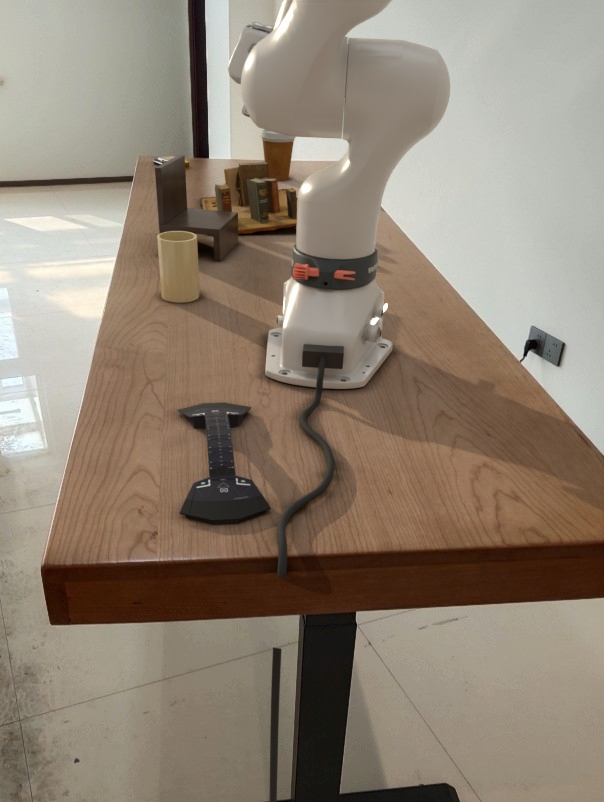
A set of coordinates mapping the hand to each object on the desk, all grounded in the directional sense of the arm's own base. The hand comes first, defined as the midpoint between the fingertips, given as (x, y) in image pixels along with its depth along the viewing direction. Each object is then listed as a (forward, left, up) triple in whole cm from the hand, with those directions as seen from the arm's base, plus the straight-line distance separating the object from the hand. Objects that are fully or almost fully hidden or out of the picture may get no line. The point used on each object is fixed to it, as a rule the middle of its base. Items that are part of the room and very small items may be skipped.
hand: (271, 123), depth 120 cm
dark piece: (-63, -9, -26) cm, 69 cm away
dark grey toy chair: (+14, +17, -26) cm, 34 cm away
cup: (-14, +12, -26) cm, 32 cm away
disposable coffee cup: (+87, +17, -26) cm, 93 cm away
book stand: (+42, +13, -26) cm, 51 cm away
